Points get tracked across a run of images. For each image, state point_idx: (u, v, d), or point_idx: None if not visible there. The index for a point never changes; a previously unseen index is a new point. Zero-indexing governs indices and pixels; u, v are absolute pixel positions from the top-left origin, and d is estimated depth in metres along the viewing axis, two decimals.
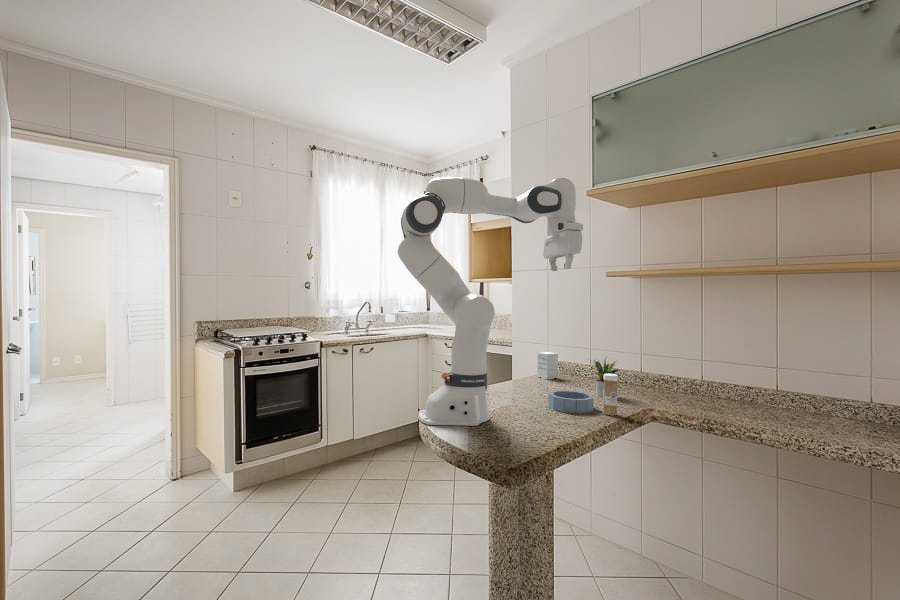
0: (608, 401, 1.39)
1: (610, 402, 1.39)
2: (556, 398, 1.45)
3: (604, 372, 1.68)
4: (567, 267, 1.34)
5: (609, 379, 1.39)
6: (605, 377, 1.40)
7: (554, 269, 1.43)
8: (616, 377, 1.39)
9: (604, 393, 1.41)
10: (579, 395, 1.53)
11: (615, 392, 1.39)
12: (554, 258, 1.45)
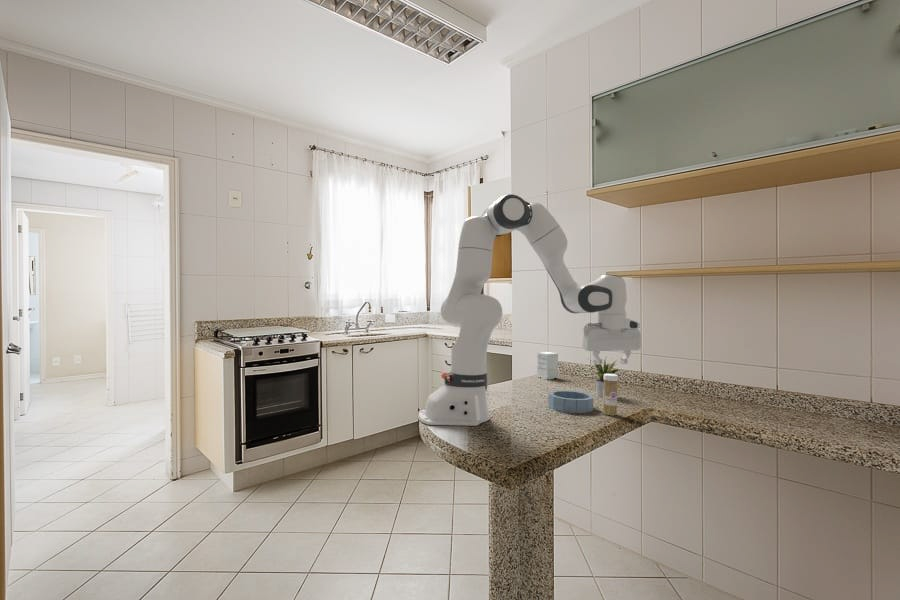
0: (608, 401, 1.39)
1: (610, 402, 1.39)
2: (556, 398, 1.45)
3: (604, 372, 1.68)
4: None
5: (609, 379, 1.39)
6: (605, 377, 1.40)
7: None
8: (616, 377, 1.39)
9: (604, 393, 1.41)
10: (579, 395, 1.53)
11: (615, 392, 1.39)
12: None
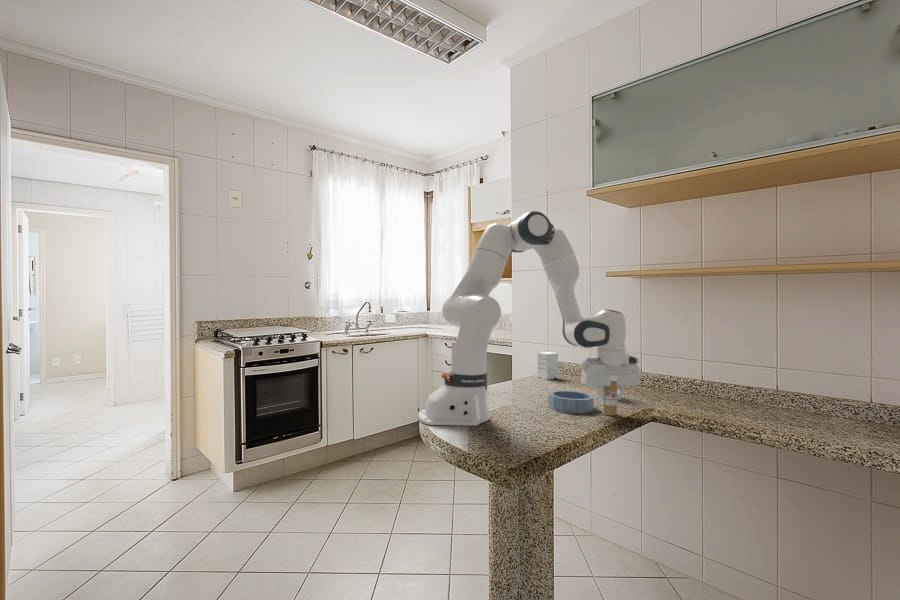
0: (608, 401, 1.39)
1: (611, 402, 1.39)
2: (556, 398, 1.45)
3: None
4: None
5: None
6: None
7: None
8: (616, 377, 1.39)
9: (604, 393, 1.41)
10: (579, 395, 1.53)
11: (615, 392, 1.39)
12: None
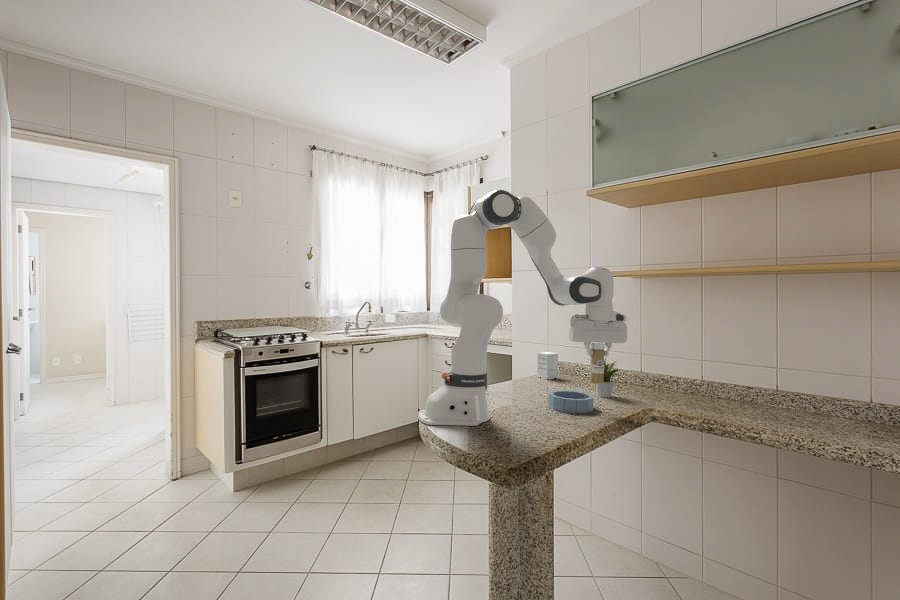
0: (595, 369, 1.42)
1: (597, 370, 1.41)
2: (556, 398, 1.45)
3: (604, 372, 1.68)
4: None
5: (596, 347, 1.42)
6: (592, 345, 1.43)
7: None
8: (603, 346, 1.42)
9: (591, 362, 1.43)
10: (579, 395, 1.53)
11: (602, 360, 1.42)
12: None
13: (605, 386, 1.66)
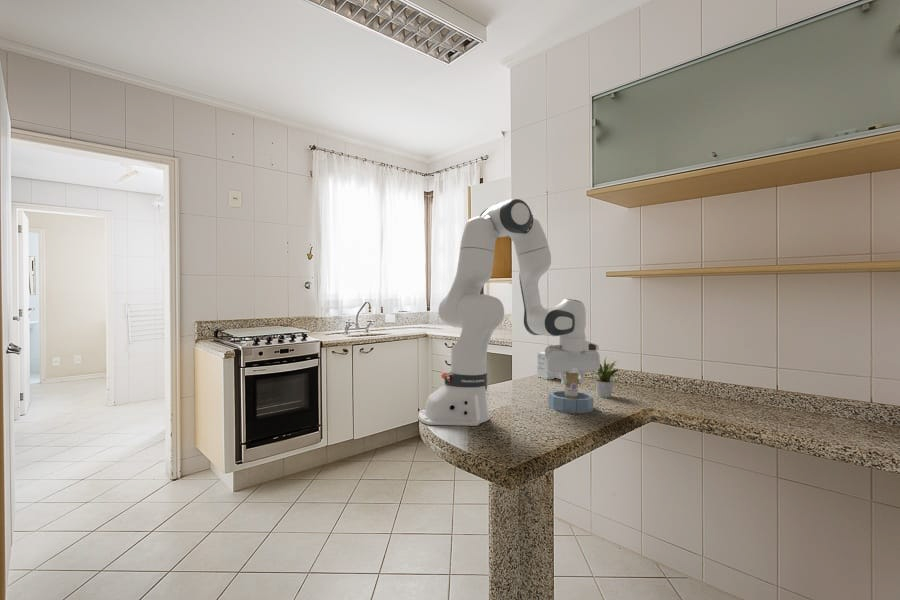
0: (569, 392, 1.47)
1: (571, 393, 1.47)
2: (556, 398, 1.45)
3: (604, 372, 1.68)
4: None
5: (570, 371, 1.47)
6: None
7: None
8: (576, 369, 1.47)
9: (565, 384, 1.49)
10: (579, 395, 1.53)
11: (575, 383, 1.47)
12: None
13: (605, 386, 1.66)
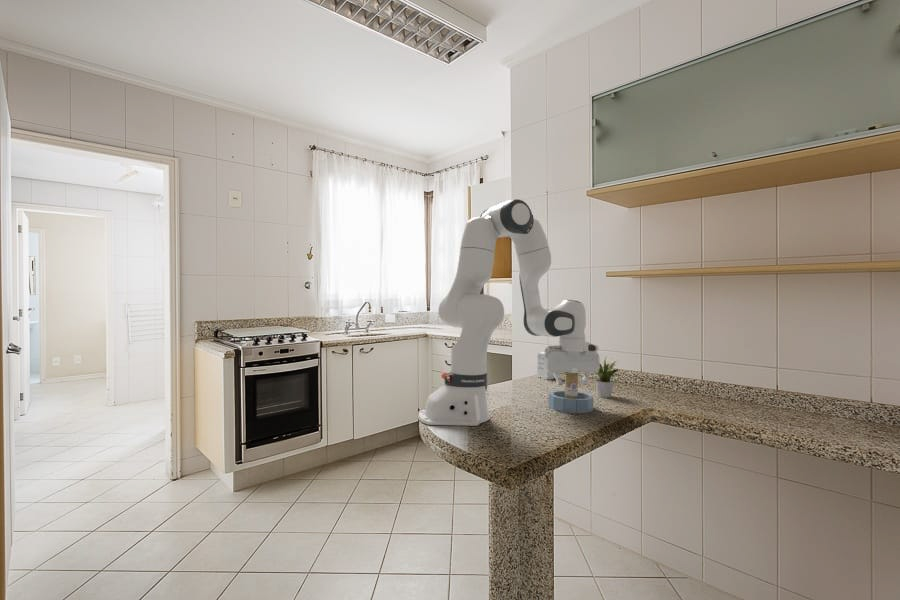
0: (569, 392, 1.47)
1: (571, 393, 1.47)
2: (556, 398, 1.45)
3: (604, 372, 1.68)
4: None
5: None
6: None
7: None
8: (576, 369, 1.47)
9: (565, 384, 1.49)
10: (579, 395, 1.53)
11: (575, 383, 1.47)
12: None
13: (605, 386, 1.66)
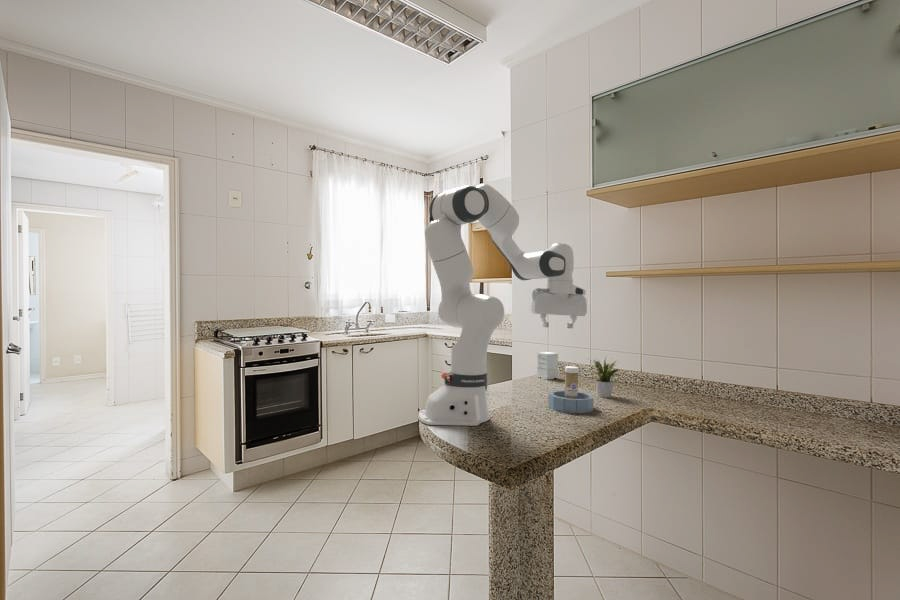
0: (569, 392, 1.47)
1: (571, 393, 1.47)
2: (556, 398, 1.45)
3: (604, 372, 1.68)
4: None
5: (570, 371, 1.47)
6: (566, 369, 1.49)
7: None
8: (576, 369, 1.47)
9: (565, 384, 1.49)
10: (579, 395, 1.53)
11: (575, 383, 1.47)
12: None
13: (605, 386, 1.66)
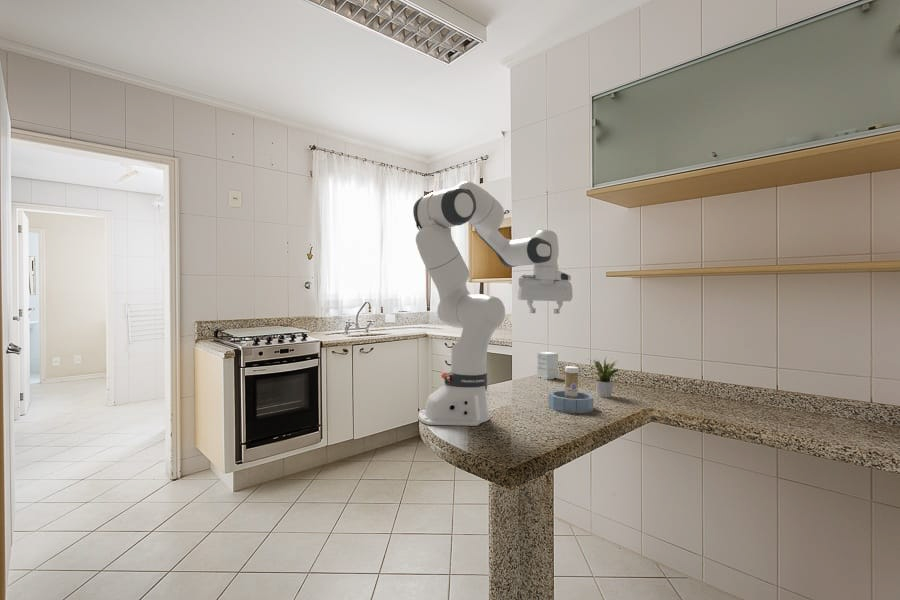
0: (569, 392, 1.47)
1: (571, 393, 1.47)
2: (556, 398, 1.45)
3: (604, 372, 1.68)
4: None
5: (570, 371, 1.47)
6: (566, 369, 1.49)
7: None
8: (576, 369, 1.47)
9: (565, 384, 1.49)
10: (579, 395, 1.53)
11: (575, 383, 1.47)
12: None
13: (605, 386, 1.66)
